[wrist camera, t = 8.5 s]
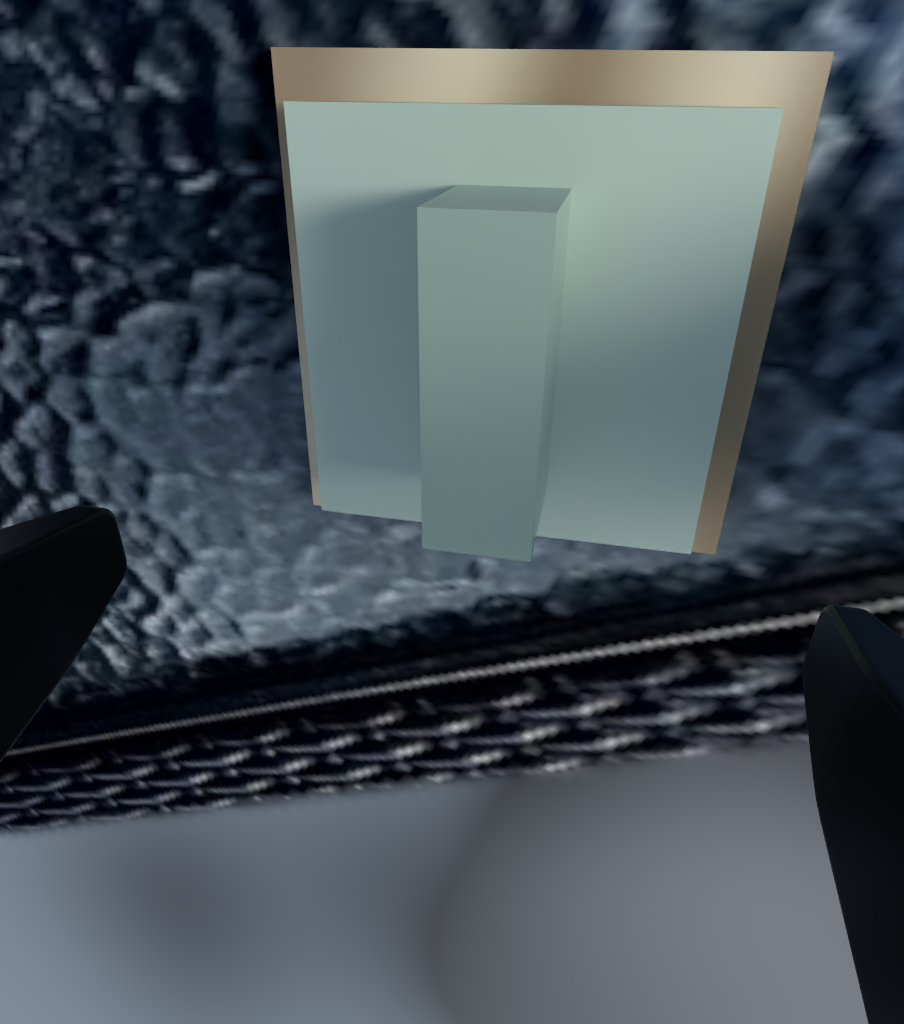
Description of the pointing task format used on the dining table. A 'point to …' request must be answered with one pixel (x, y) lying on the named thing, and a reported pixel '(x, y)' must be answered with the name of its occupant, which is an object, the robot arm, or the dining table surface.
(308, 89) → the board
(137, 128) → the dining table surface
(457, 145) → the lid
